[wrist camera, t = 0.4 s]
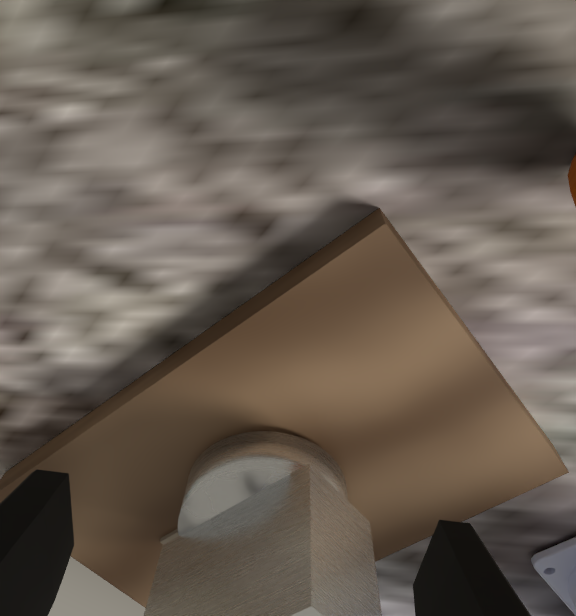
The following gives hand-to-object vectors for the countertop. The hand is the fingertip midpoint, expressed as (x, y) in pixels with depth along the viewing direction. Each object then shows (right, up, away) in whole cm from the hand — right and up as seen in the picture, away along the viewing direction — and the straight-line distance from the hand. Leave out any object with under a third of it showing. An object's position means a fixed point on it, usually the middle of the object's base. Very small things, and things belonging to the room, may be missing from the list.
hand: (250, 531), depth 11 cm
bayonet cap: (0, -3, +11) cm, 12 cm away
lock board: (0, -2, +13) cm, 13 cm away
